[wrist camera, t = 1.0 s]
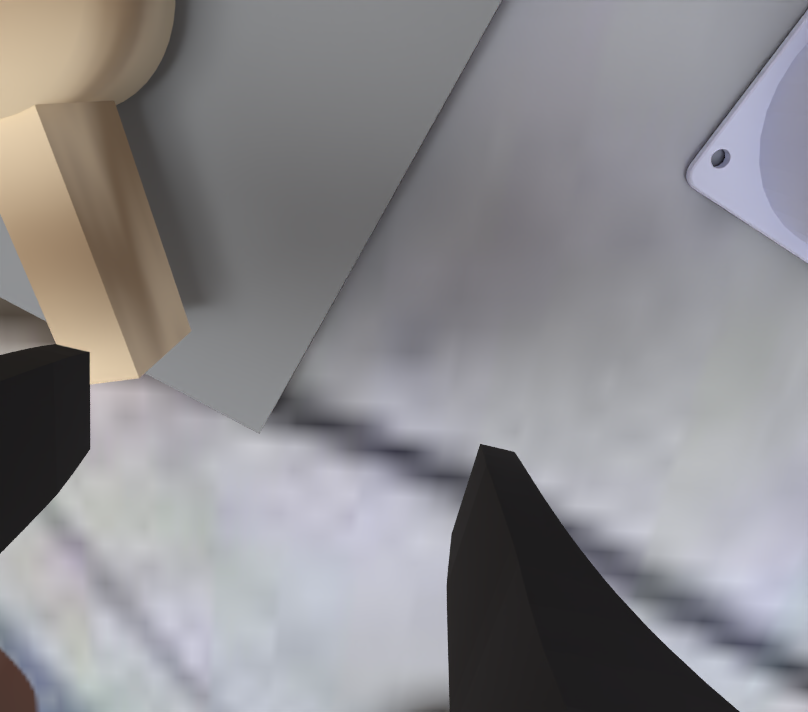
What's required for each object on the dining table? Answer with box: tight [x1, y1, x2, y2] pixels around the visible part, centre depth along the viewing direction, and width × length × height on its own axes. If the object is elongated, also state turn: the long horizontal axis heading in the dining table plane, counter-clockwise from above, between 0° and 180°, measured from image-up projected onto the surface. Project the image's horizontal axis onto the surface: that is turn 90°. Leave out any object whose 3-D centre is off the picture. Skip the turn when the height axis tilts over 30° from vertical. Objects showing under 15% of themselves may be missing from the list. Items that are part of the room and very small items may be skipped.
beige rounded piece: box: [0, 0, 191, 384], centre depth 15 cm, size 13×6×4 cm, turn 10°
